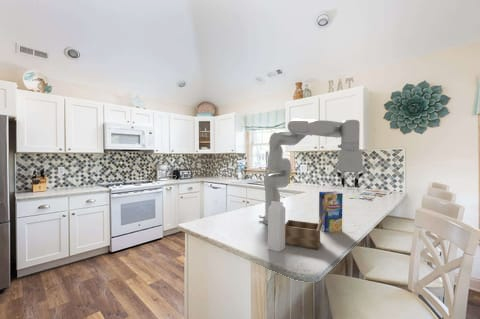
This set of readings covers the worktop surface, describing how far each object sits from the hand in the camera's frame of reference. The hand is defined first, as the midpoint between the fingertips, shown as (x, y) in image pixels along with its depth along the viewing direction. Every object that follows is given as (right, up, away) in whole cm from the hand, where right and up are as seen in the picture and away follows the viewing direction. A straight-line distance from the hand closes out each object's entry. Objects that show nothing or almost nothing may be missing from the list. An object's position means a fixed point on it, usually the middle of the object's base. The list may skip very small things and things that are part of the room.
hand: (349, 186), depth 105 cm
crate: (-19, -29, +9) cm, 36 cm away
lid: (-10, -12, +4) cm, 16 cm away
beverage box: (+3, -29, +30) cm, 42 cm away
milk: (-33, -29, +2) cm, 44 cm away
